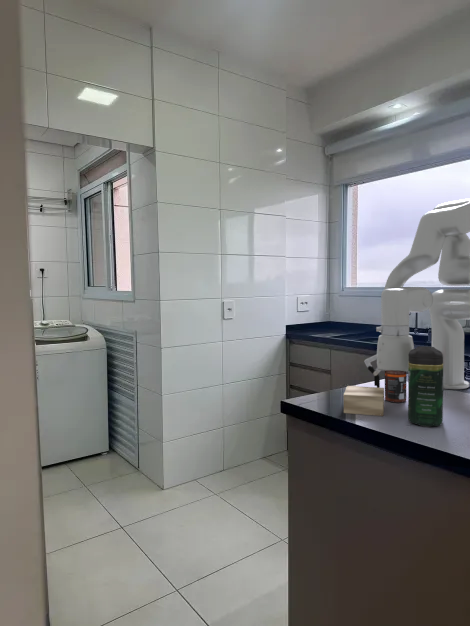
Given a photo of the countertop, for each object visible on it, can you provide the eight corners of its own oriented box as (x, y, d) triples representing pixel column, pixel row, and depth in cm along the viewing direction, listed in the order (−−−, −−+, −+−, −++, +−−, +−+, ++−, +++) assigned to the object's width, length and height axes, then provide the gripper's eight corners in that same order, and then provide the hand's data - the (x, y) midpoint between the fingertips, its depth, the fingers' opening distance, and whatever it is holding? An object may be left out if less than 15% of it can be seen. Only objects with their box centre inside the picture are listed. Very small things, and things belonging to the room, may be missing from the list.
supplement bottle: (408, 403, 119) (408, 364, 118) (386, 403, 120) (386, 364, 120) (404, 398, 125) (404, 360, 124) (383, 397, 126) (383, 360, 125)
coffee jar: (444, 429, 98) (444, 350, 97) (407, 425, 101) (407, 349, 100) (442, 417, 107) (442, 344, 105) (409, 414, 110) (408, 343, 109)
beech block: (347, 402, 122) (347, 385, 121) (384, 405, 118) (384, 387, 118) (343, 412, 112) (343, 394, 112) (383, 416, 109) (383, 397, 108)
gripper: (363, 332, 121) (363, 390, 122) (429, 333, 115) (429, 394, 116) (364, 329, 128) (365, 384, 129) (427, 330, 122) (427, 388, 123)
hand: (395, 389), depth 122 cm, fingers open, 9 cm apart
